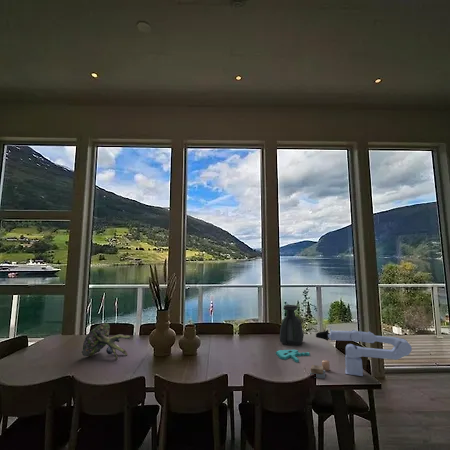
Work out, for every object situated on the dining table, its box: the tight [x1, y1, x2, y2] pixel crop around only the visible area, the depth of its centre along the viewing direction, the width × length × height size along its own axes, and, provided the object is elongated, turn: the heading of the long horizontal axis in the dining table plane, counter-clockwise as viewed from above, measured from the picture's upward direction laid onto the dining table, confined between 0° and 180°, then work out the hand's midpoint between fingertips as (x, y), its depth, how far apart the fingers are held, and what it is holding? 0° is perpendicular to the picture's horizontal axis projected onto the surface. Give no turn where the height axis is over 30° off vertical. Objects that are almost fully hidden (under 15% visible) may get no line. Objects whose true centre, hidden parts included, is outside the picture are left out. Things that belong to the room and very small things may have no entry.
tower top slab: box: [310, 364, 323, 374], centre depth 171 cm, size 6×6×2 cm
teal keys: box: [275, 348, 311, 363], centre depth 207 cm, size 20×2×20 cm
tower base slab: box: [309, 370, 326, 379], centre depth 171 cm, size 8×8×2 cm
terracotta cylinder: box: [321, 359, 331, 372], centre depth 180 cm, size 4×4×5 cm
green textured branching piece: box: [81, 322, 131, 361], centre depth 210 cm, size 23×26×35 cm
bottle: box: [278, 304, 304, 346], centre depth 244 cm, size 18×16×30 cm
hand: (316, 334), depth 184 cm, fingers open, 7 cm apart
